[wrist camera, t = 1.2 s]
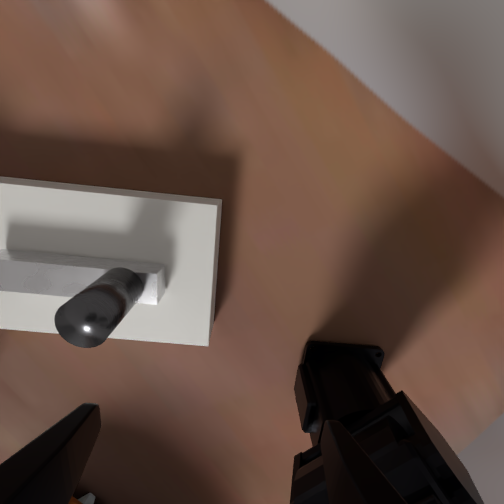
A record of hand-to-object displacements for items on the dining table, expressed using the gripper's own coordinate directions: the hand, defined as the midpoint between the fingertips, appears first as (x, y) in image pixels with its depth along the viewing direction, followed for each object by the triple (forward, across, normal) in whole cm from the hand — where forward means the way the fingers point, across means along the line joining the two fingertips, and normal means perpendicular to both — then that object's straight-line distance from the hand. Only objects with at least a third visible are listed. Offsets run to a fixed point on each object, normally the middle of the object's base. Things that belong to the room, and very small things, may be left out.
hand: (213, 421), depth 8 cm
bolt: (+10, +9, 0) cm, 14 cm away
